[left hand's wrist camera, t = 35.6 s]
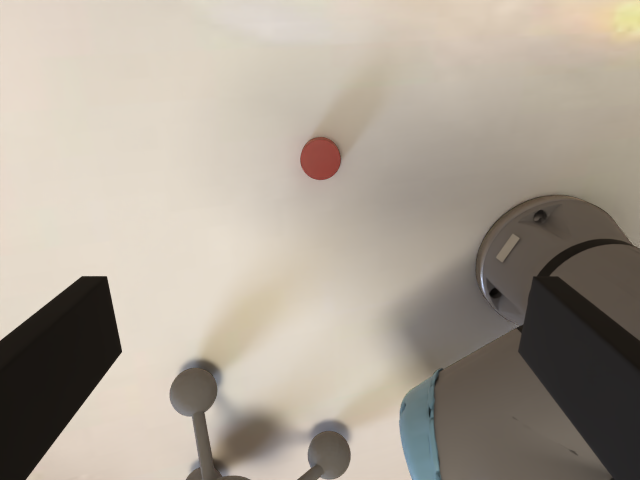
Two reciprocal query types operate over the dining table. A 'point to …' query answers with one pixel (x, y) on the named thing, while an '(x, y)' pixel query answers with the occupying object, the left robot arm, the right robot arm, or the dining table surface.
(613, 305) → the left robot arm
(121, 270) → the dining table surface
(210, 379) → the molecular model
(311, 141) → the cap
